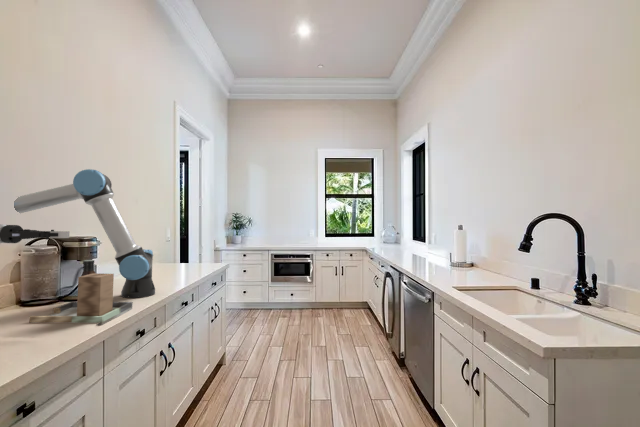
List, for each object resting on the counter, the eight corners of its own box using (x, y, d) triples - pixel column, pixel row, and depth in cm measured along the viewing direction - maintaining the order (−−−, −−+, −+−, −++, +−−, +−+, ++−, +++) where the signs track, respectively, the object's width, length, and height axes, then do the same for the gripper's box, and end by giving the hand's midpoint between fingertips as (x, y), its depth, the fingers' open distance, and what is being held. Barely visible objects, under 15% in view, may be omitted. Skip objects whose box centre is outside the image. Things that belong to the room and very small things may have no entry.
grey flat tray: (29, 325, 113) (29, 316, 113) (71, 308, 134) (71, 301, 134) (101, 325, 114) (102, 316, 114) (132, 309, 135) (132, 302, 135)
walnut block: (76, 320, 116) (78, 277, 116) (91, 314, 124) (92, 273, 124) (99, 320, 116) (100, 277, 117) (112, 314, 124) (113, 273, 125)
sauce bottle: (86, 302, 144) (88, 259, 145) (99, 303, 144) (101, 259, 144) (75, 306, 138) (76, 260, 138) (88, 306, 137) (90, 261, 138)
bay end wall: (100, 324, 115) (100, 316, 115) (116, 316, 125) (116, 308, 125) (103, 324, 115) (103, 316, 115) (119, 316, 125) (119, 308, 125)
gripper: (20, 242, 135) (78, 242, 137) (-9, 244, 122) (56, 245, 124) (20, 224, 135) (79, 225, 137) (-9, 225, 122) (56, 226, 124)
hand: (68, 234), depth 131 cm, fingers closed
